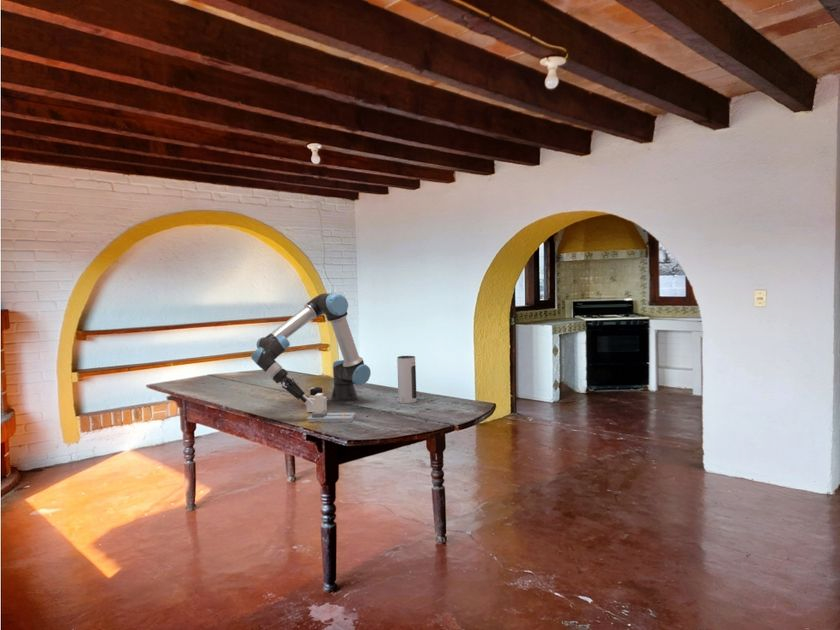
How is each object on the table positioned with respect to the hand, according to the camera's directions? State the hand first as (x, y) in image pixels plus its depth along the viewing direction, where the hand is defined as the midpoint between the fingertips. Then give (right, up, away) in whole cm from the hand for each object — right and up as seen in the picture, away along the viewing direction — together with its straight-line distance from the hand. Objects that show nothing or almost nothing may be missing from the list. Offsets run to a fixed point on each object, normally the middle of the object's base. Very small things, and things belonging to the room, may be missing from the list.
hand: (311, 405), depth 296 cm
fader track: (+10, -7, 0) cm, 13 cm away
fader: (+4, -5, 0) cm, 6 cm away
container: (0, -6, +18) cm, 19 cm away
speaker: (+48, -4, +37) cm, 60 cm away
